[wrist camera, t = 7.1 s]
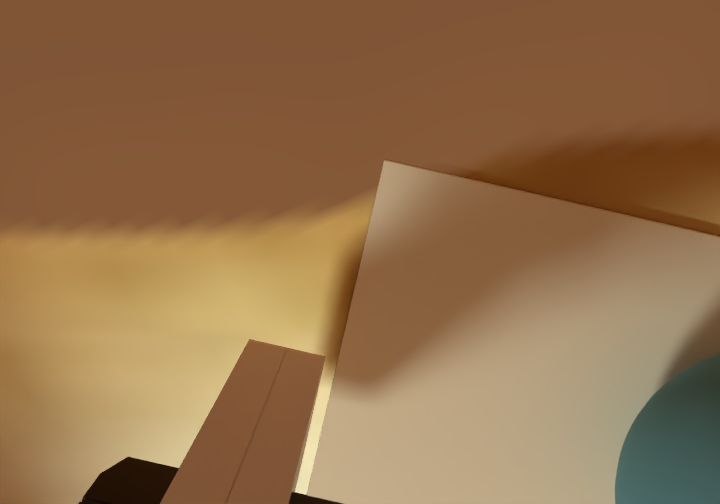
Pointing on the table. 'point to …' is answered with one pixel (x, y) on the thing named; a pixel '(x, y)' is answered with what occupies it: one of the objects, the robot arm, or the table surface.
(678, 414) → the ball
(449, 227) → the beige square tile
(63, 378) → the table surface
